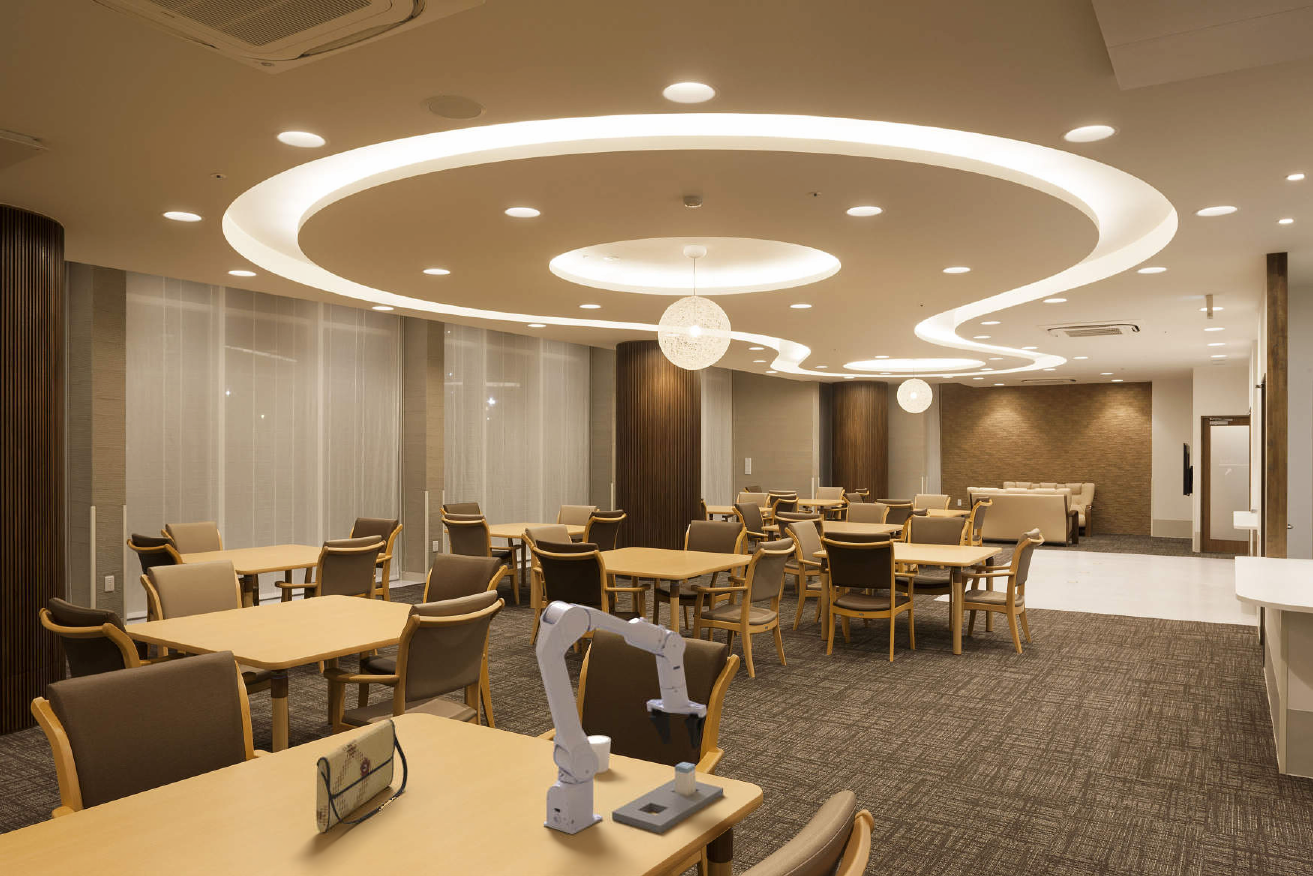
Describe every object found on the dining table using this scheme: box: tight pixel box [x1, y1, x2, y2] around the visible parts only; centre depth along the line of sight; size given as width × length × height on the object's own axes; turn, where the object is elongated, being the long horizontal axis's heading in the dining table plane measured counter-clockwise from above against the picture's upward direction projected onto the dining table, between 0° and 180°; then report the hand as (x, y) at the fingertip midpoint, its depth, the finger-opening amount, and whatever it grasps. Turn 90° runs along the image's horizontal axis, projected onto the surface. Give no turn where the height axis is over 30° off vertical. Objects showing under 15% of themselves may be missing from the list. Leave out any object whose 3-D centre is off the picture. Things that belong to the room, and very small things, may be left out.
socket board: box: [611, 778, 724, 834], centre depth 177 cm, size 24×12×2 cm, turn 144°
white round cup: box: [587, 734, 612, 774], centre depth 200 cm, size 7×7×7 cm
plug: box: [674, 761, 696, 796], centre depth 182 cm, size 3×3×7 cm
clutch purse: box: [315, 718, 409, 834], centre depth 177 cm, size 30×7×15 cm, turn 169°
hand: (681, 745), depth 183 cm, fingers open, 7 cm apart
